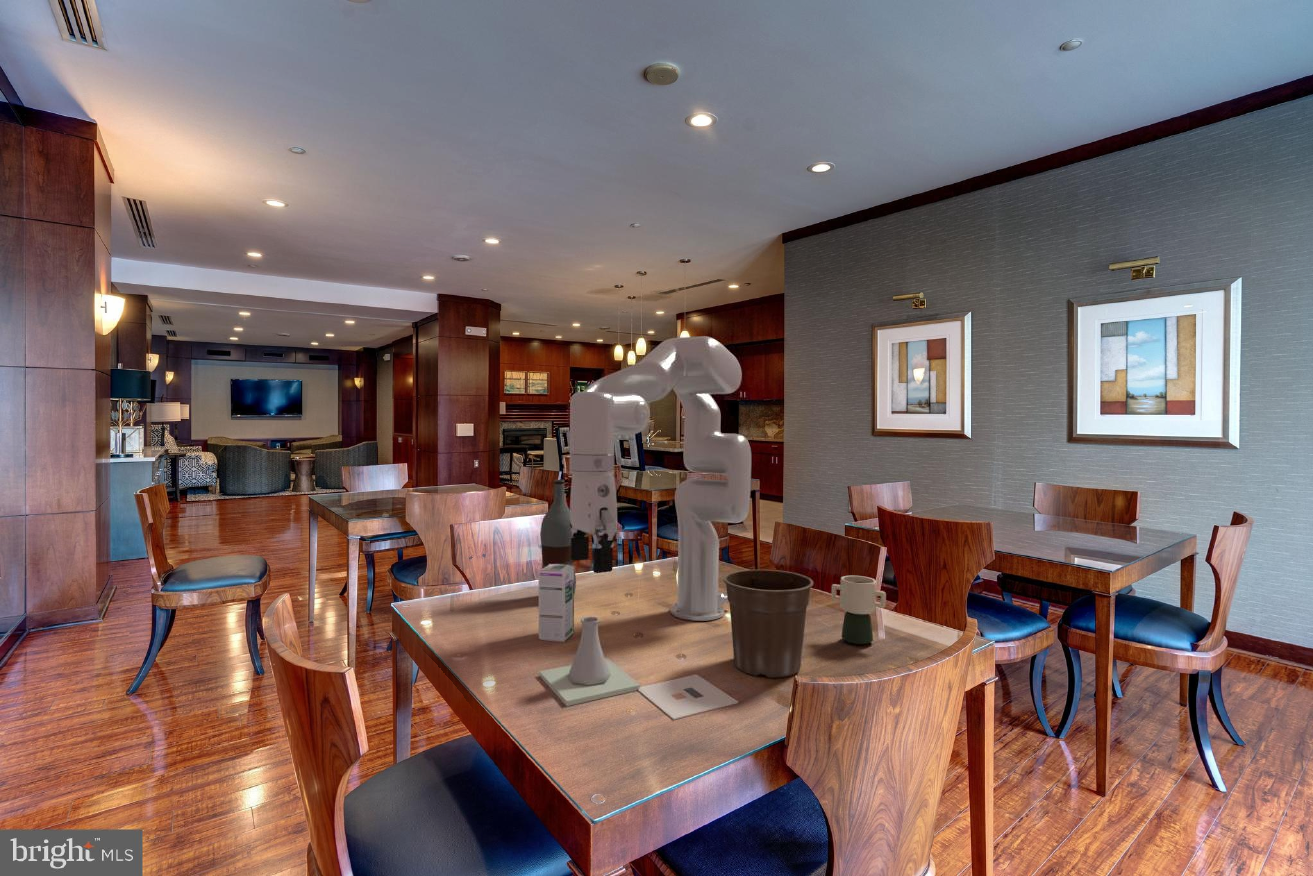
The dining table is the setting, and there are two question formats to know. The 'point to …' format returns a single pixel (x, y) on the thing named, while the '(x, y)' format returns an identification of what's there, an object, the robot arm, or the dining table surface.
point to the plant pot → (768, 620)
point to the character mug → (858, 607)
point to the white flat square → (686, 696)
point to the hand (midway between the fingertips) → (590, 565)
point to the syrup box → (556, 602)
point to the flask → (589, 656)
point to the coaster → (585, 693)
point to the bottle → (557, 532)
